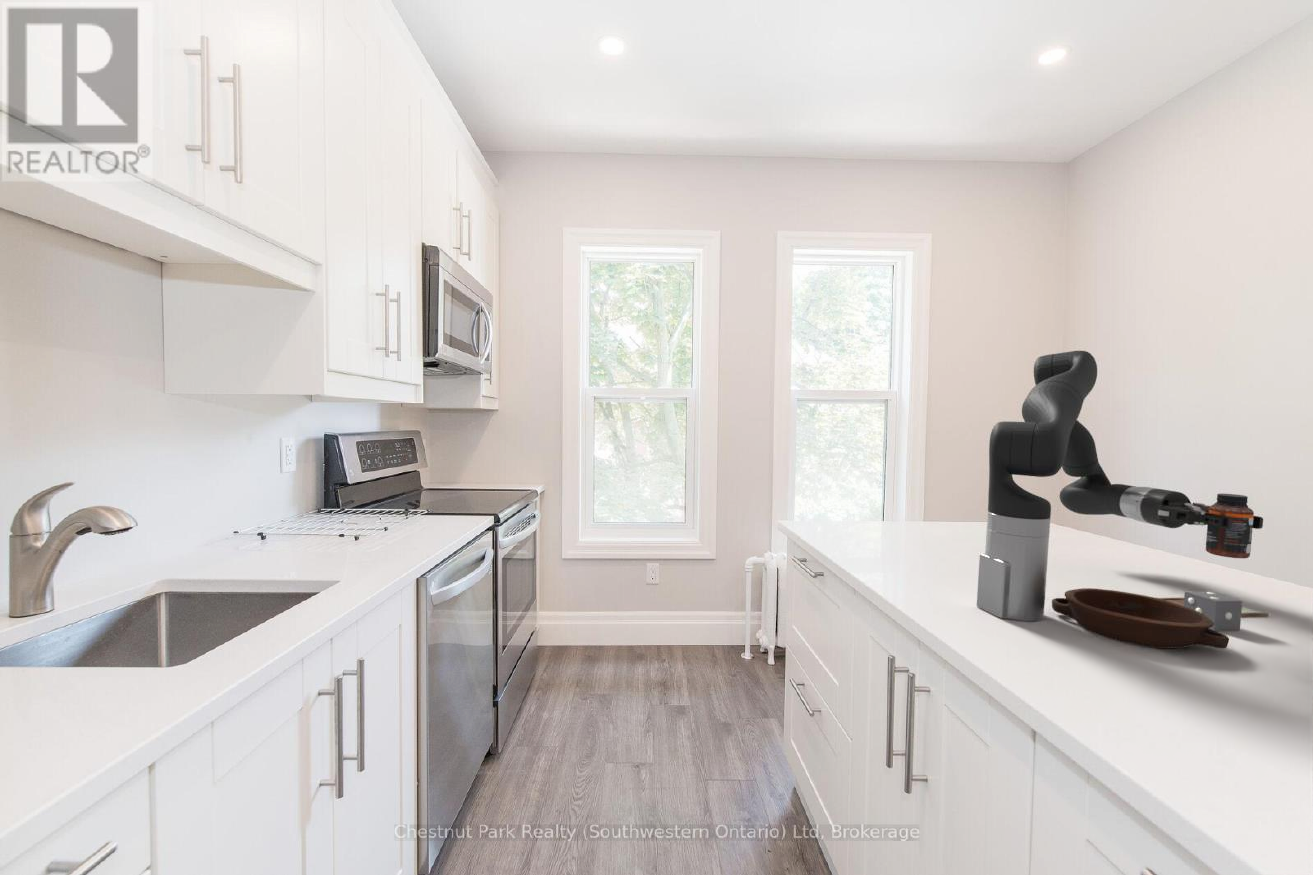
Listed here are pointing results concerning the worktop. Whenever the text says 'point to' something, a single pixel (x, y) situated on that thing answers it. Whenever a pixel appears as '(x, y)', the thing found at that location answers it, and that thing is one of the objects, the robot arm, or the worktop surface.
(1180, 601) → the board
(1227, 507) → the supplement bottle
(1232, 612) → the die
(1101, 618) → the dish
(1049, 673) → the worktop surface
